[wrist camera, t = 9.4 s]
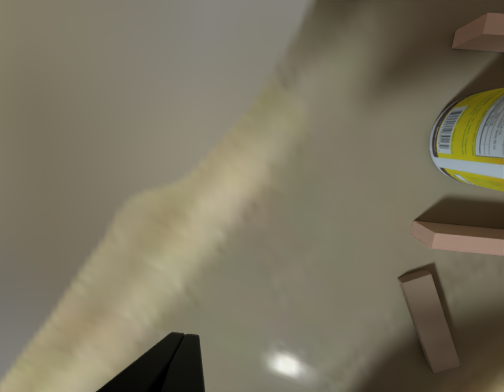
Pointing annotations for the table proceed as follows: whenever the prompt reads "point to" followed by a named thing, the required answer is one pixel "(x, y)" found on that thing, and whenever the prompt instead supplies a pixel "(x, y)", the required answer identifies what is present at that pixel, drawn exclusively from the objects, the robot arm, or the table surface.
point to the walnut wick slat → (429, 321)
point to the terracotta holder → (458, 236)
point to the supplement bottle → (472, 140)
